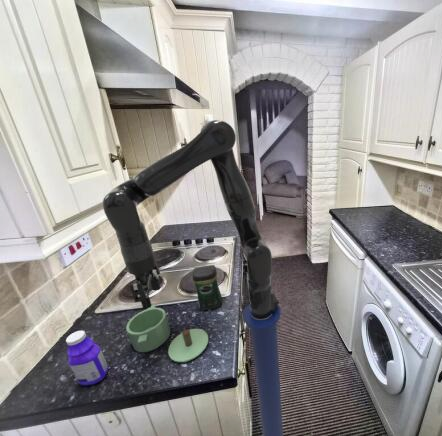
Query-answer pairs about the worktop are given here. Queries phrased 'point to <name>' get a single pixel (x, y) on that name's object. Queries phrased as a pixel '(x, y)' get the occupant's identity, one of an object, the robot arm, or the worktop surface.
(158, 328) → the pot
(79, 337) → the bottle
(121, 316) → the worktop surface
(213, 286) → the coffee jar
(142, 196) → the robot arm
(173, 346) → the lid
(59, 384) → the worktop surface
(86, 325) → the worktop surface
